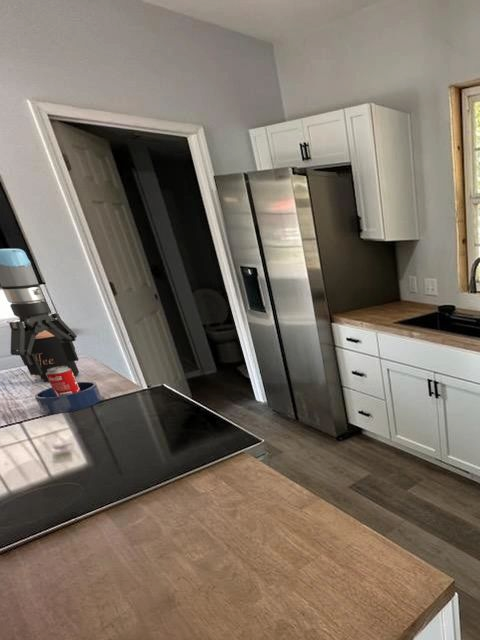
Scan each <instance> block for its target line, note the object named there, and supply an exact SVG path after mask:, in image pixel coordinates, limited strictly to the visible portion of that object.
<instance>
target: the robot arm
mask: <svg viewBox="0 0 480 640" xmlns="http://www.w3.org/2000/svg"><path fill="white" fill-rule="evenodd" d="M0 286H1V288H2V289H1V290H2V291H3V294H4V296H5V298H6V300H7V302H8V303H10V305H9V306H10V309H11V311H12V313H13V315H14V316H15V317H17V318H18V319H20V322H13V321H10V322H9V328H10V331H11V332H10V355H11V356H19V357H20V358H21V360H22V361H21V362H22V363H23V364H24V366H26V368H27V370H28V372H29V374H30V376H35V375H41V374H43V373H42V371H41V368H40V366H39V364H38V362H37V359H36V357H35V355H34V354H31V351H32V347H33V344H34V340H35V337H36V335H38V333H40V332H43V331H48V332H49V333H51V334H52V335H54V336H55V337H57V338H59V339H60V340H62V341H63V342H61V345H62V348H63V350H64V353H65V355H66V357H67V360H68V361H75V362H78V361H80V358H79V356H78V354H77V352H76V347H75V345H74V342H75V341H76V339H77V337H78V336H77V334H76V333H75V332H74V331H73V330H72V329H71V328H70V327H69V326H68V324H66V323H65V321H64V320H63V319H62V318H61V316H60V314H59V313H58V312H51V310H50V307H49V305H48V303H47V301H46V300H45V296H44V293H43V292H42V289H41V287H40V284H39V282H38V278H37V276H36V273H35V270H34V269H33V266H32V262H31V261H30V259H29V258H28V255H27V253H26V252H25V251H24V250H23V249H21V248H0Z"/></svg>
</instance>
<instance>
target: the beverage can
mask: <svg viewBox="0 0 480 640" xmlns="http://www.w3.org/2000/svg"><path fill="white" fill-rule="evenodd" d="M46 375H47V377H48V380H49V382H48V383H49V384H50V386H51V388H53V391H54V393H55V395H56V397H57V396H63V395H68V394H73V393H77V392H80V388H79V386H78V384H77V382H78V381H77V380H76V376H75V377H74V374H73V372H72V370H71V369H70V368H68V366H58V367H53V368H50V369H47V373H46Z"/></svg>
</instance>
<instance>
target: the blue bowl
mask: <svg viewBox="0 0 480 640" xmlns="http://www.w3.org/2000/svg"><path fill="white" fill-rule="evenodd" d="M77 384H78V386H79V388H80V392H77V393H73V394H68V395H63V396H57V397H56V395H55V393H54V391H53V388H52V387H49V388H45V389H43V390H41V391H39V392H37V393H35V394H34V399H35V401H36V403H37V405H38V407H39V409H40V411H41V413H42V414H45V415H52V414H53V415H55V414H56V415H57V414H63V413H69V412H74V411H78V410H82V409H86V408H88V407H92V406H95V405H97V404H98V403H100V402H101V401H102V400H103V397H102V394H101V391H100V389H99V387H98V384H97V383H96V382H94V381H77Z"/></svg>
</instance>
